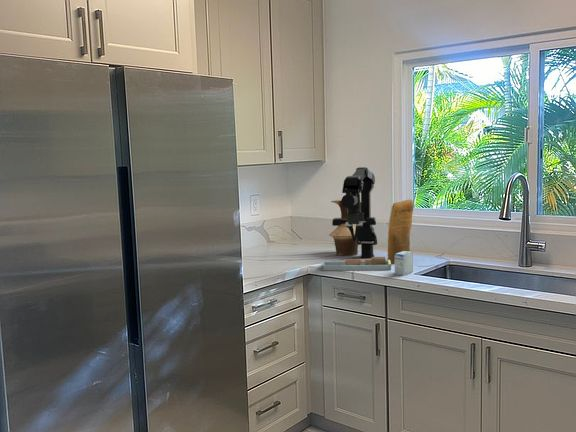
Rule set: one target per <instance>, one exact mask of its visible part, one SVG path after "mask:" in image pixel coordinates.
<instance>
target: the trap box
mask: <svg viewBox="0 0 576 432" xmlns="http://www.w3.org/2000/svg"><path fill="white" fill-rule="evenodd" d="M385 262H386V265H371V258H360V259H342V260H341V261H340V260H339V261H338V260H337V261H336V260H335V261H333V260H332V261H327V260H326V261H322V263H321V264H320V270H321V271H391V270H392V264H391V262H390V260H388V259H387V260H385Z"/></svg>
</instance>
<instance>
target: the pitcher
mask: <svg viewBox="0 0 576 432" xmlns="http://www.w3.org/2000/svg"><path fill="white" fill-rule="evenodd" d="M341 200H342V199H335V200H331V201H330V203H334V204H336V205H338V207H339V208H340V218H342V220H347V208H346V207H344V206H343V205H342V202H341ZM360 212H361V201H360ZM352 225H353V230H354V237H355V229H356V225H355V224H352ZM328 236H329V237H332V238H333V241H334V246H335V254H336V255H337V256H340V257H341V256H342V257H349V256H356V255H357V254H358V253H359V251H358V249H359V245H358V243H357V237H356V241H353V238H352V235H351V232H350V230H349V228H348V227H346V225H345V224H341V225H340V226H337V227H336V228H335V229H334V230H333V231H331V232H330V233H329V234H328Z"/></svg>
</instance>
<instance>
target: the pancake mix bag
mask: <svg viewBox="0 0 576 432" xmlns="http://www.w3.org/2000/svg"><path fill="white" fill-rule="evenodd" d="M413 213H414V201H413V199H406V200H402V201H399V202H393V203H392V205H391V209H390V214H389V220H388V228H387V229H388V232H387V261H388V260H390V262H391V265H395V254H396V253H399V252H402V251H409V252H411V251H410V249H411V247H410V245H411V243H410V242H411V241H410V240H411V239H410V238H411V237H410V236H411V229H412V224H413Z"/></svg>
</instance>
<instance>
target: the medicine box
mask: <svg viewBox="0 0 576 432" xmlns="http://www.w3.org/2000/svg"><path fill="white" fill-rule="evenodd" d="M413 259H414V255H413V252H412V251H410V252H409V251H402V252H399V253H396V254H395V264H394V275H395V276H396V275H399V276H406V275H408V274H410V273H412V272H414V269H413V268H414V266H413V265H414V260H413Z"/></svg>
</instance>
